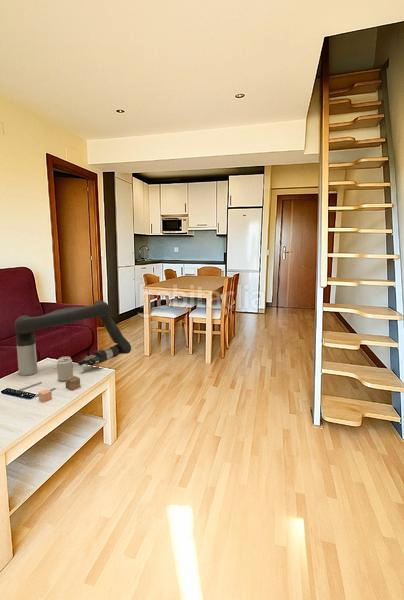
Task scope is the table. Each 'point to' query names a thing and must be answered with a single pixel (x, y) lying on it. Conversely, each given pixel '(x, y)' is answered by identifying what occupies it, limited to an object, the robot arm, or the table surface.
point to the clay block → (45, 395)
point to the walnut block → (72, 382)
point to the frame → (32, 386)
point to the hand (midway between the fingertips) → (78, 363)
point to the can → (64, 368)
